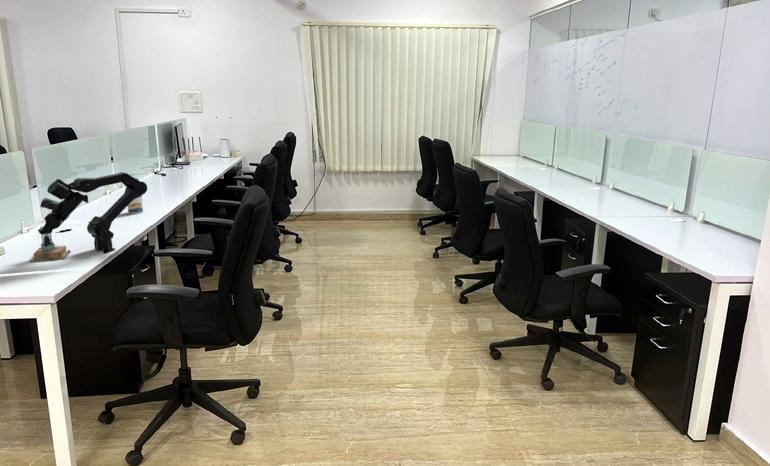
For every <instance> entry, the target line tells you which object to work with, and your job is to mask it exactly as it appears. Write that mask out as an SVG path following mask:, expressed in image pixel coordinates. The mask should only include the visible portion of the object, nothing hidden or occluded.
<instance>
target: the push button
mask: <svg viewBox="0 0 770 466" xmlns="http://www.w3.org/2000/svg"><path fill="white" fill-rule="evenodd" d="M43 227H44V225H42V226H40V227H39V229H37V231H38V234H40V237H41V244H40V248H41V249H42V251H47V250H54V249H55V248H57V247H56V246H58V244H55V243H54V241H53V238H52V233H53V230H51V231H49V232H47V233H45V234H41V233H40V232H41V230H42V229H43Z"/></svg>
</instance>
